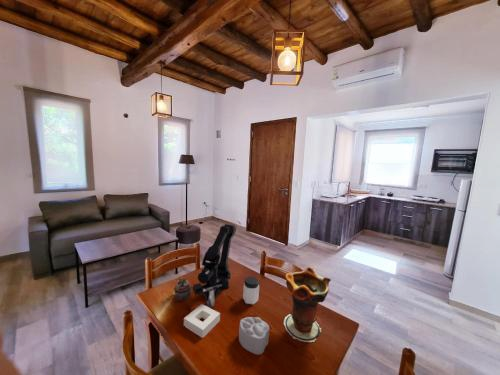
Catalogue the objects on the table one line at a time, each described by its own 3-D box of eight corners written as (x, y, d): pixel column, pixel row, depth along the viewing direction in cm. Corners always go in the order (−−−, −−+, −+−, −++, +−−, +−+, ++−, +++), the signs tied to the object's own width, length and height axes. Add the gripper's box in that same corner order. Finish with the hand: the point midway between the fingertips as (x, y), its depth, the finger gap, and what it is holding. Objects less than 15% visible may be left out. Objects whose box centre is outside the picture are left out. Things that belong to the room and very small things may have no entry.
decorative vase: (333, 325, 102) (338, 273, 97) (310, 356, 85) (315, 296, 81) (297, 303, 116) (300, 257, 112) (272, 326, 100) (274, 274, 96)
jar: (241, 296, 120) (242, 277, 118) (253, 293, 123) (255, 274, 122) (246, 306, 112) (248, 285, 110) (260, 303, 115) (261, 283, 113)
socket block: (201, 310, 106) (201, 303, 106) (219, 320, 100) (220, 313, 100) (183, 326, 96) (183, 318, 95) (202, 338, 90) (203, 329, 89)
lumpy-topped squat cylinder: (260, 357, 83) (261, 338, 82) (233, 342, 89) (234, 324, 88) (270, 339, 92) (271, 321, 91) (245, 326, 98) (246, 310, 97)
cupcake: (192, 299, 114) (193, 283, 113) (174, 303, 110) (174, 286, 109) (190, 289, 123) (191, 274, 122) (173, 292, 119) (173, 276, 118)
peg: (212, 300, 114) (213, 286, 113) (215, 305, 111) (215, 290, 110) (205, 303, 112) (206, 287, 111) (208, 307, 109) (208, 292, 108)
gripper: (222, 263, 121) (221, 287, 123) (190, 269, 111) (189, 295, 113) (230, 272, 111) (228, 298, 113) (196, 280, 102) (195, 308, 104)
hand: (210, 299), depth 111 cm, fingers closed on peg, 4 cm apart
